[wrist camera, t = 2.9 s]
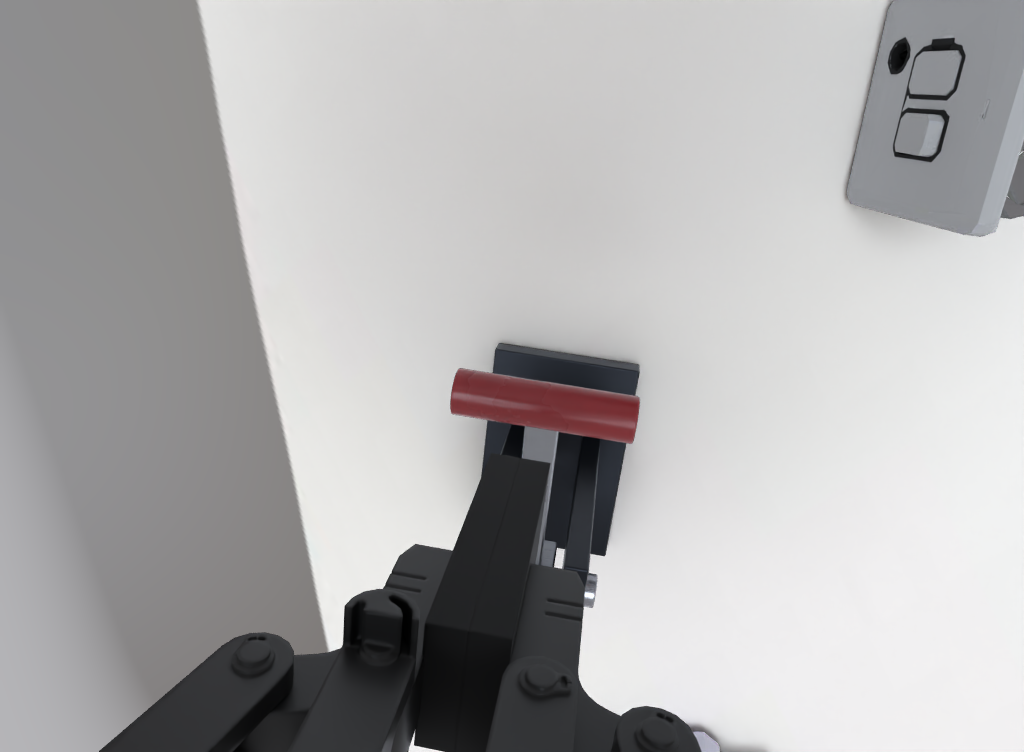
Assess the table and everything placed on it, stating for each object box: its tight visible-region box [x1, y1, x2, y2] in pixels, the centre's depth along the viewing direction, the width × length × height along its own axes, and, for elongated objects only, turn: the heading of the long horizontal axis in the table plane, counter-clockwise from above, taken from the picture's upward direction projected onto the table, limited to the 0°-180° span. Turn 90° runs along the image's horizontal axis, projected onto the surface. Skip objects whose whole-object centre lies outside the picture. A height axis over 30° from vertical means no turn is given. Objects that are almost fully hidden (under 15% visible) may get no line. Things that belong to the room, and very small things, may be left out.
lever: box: [450, 368, 640, 567], centre depth 29 cm, size 13×6×2 cm, turn 173°
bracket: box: [481, 343, 639, 608], centre depth 38 cm, size 12×8×15 cm, turn 173°
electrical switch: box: [847, 0, 1024, 237], centre depth 32 cm, size 9×5×9 cm, turn 175°
